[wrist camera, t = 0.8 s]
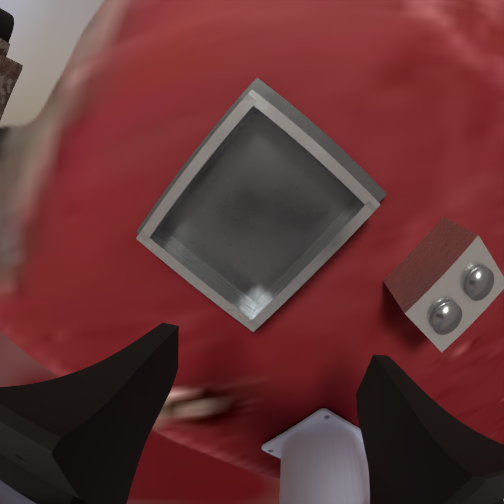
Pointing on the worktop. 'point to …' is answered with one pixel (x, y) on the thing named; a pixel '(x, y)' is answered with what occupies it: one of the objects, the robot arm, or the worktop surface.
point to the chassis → (259, 207)
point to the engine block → (446, 282)
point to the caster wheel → (6, 61)
